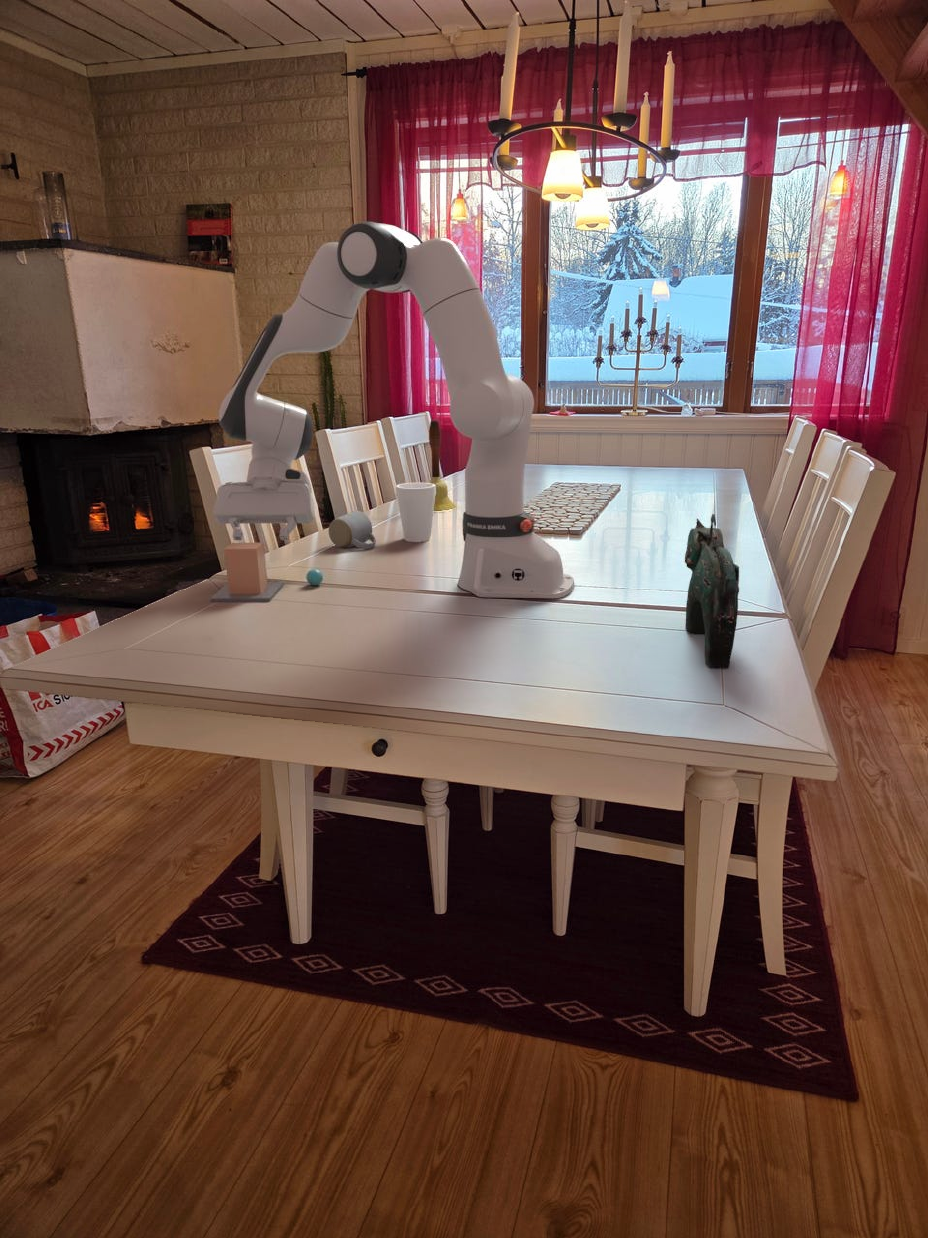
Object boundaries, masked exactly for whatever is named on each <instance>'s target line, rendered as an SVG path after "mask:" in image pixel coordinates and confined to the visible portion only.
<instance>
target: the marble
mask: <svg viewBox="0 0 928 1238" xmlns="http://www.w3.org/2000/svg"><path fill="white" fill-rule="evenodd" d="M305 578H306V581H307V583H308V584H309V585H311V586H318V585H320V584H321V583H322V582H323V579H324V575H323V573H322V571H321V570H319V569H316V568H312V569H309V571H307V573H306V576H305Z"/></svg>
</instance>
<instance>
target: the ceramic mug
mask: <svg viewBox="0 0 928 1238" xmlns="http://www.w3.org/2000/svg"><path fill="white" fill-rule="evenodd" d="M328 537H329V539H330V541H331V543H333V544H334V545H335V546H336V547H338V548H341V549H343V548H344V549H347V548H350V547H353V546H355V547H357V548H359V549H362V550H371V549H373V548H375V546H376V543H377V540H376V537H375V536H374V535H373V523H372V522H371V519H370V517H368V516H367V514H365V512H363V511H360V510H354V511H350V512H349V513H346V514H343V515H340V516H339V517H336V518H335V519H333V520H332V521H331V522H330V523H329V526H328ZM368 541H371V542H370V543H366V542H368Z"/></svg>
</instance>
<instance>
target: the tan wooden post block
mask: <svg viewBox="0 0 928 1238" xmlns="http://www.w3.org/2000/svg"><path fill="white" fill-rule="evenodd" d="M223 550H224V560H225V568H226V577H227V583H228V588H229V594H261V593H262V592H263V591H264V590H265V589H266V587H267V586H268V583H267V582H268V574H267V573H268V572H267V565H266V555H265V544H264V542H231V543H230V544H229V545H227V546H226V547H225V548H224V549H223Z"/></svg>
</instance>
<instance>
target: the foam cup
mask: <svg viewBox="0 0 928 1238" xmlns="http://www.w3.org/2000/svg"><path fill="white" fill-rule="evenodd" d="M435 495H436V485H435V484H431V483H428V482H407V483H405V482H404V483H399V484H396V486H395V496H396V498H397V504H398V507H399V508H398V510H399V514H400V516H399V517H400V519H401V520H400V522H401V527H402V533H403V537H404V538H403V539H404V541H406V542H410V543H411V542H413V543H422V541H423V542H428V541H430V540H431V539H430V538H431V536H432V528H433V520H434V513H433V511H434V502H435ZM429 539H430V540H429ZM427 540H428V541H427Z"/></svg>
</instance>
